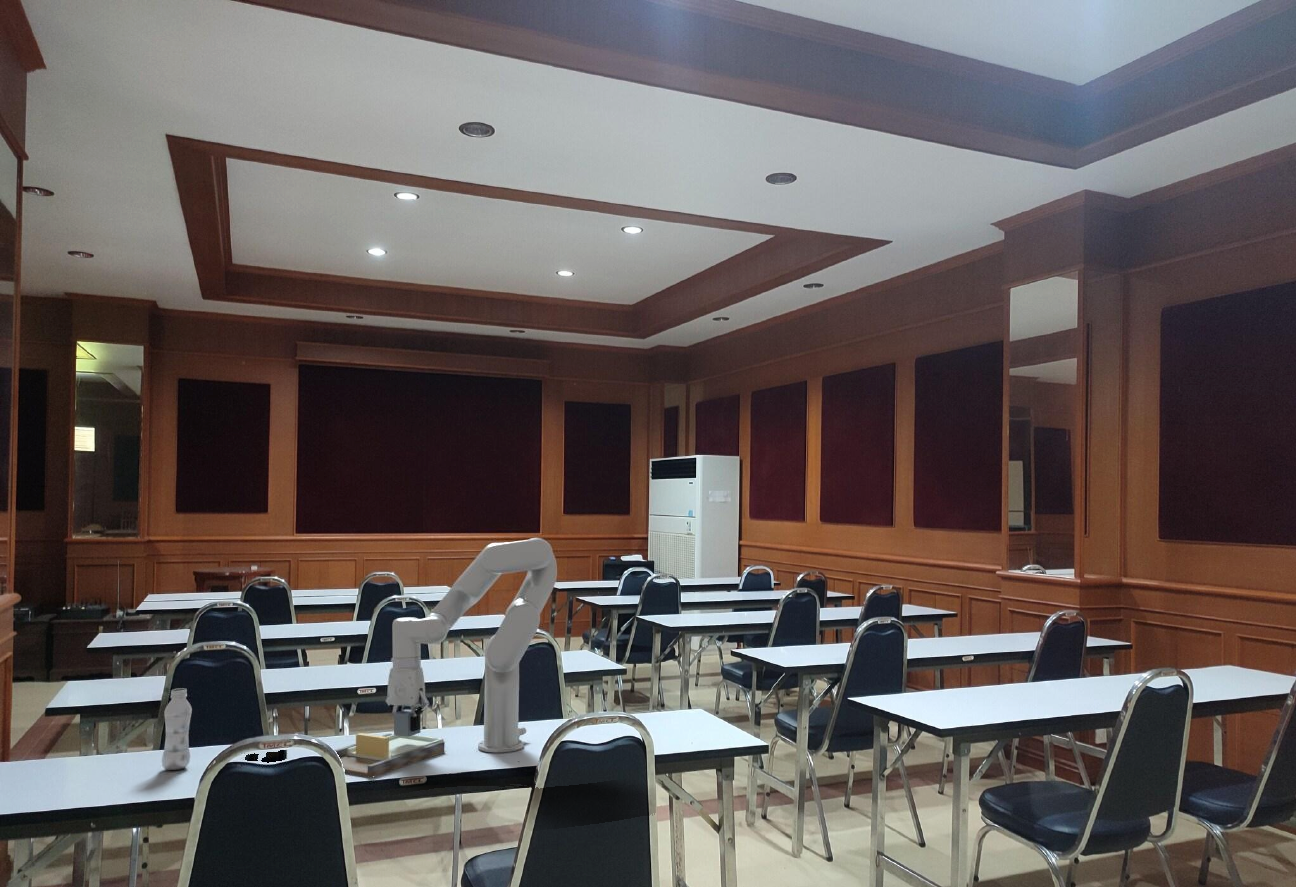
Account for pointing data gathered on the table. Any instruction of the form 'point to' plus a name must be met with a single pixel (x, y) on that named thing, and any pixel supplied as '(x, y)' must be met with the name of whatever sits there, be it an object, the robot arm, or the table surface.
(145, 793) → the table surface
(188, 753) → the plastic bottle
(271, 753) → the end cap
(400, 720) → the slate block
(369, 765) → the guide base
